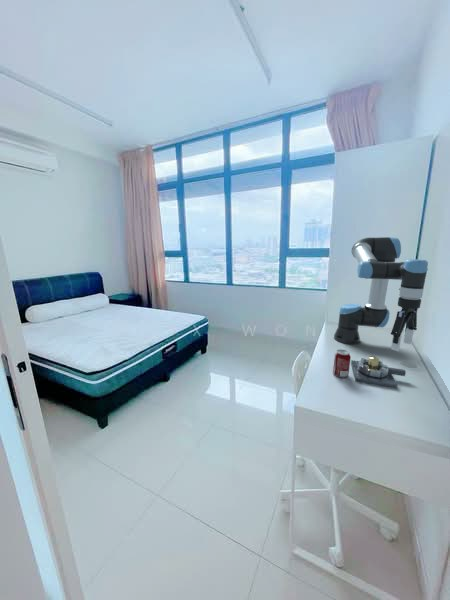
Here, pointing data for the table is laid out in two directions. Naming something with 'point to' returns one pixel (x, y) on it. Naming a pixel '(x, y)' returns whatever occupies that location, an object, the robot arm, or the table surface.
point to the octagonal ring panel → (379, 373)
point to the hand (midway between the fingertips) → (401, 346)
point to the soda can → (341, 363)
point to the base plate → (363, 378)
